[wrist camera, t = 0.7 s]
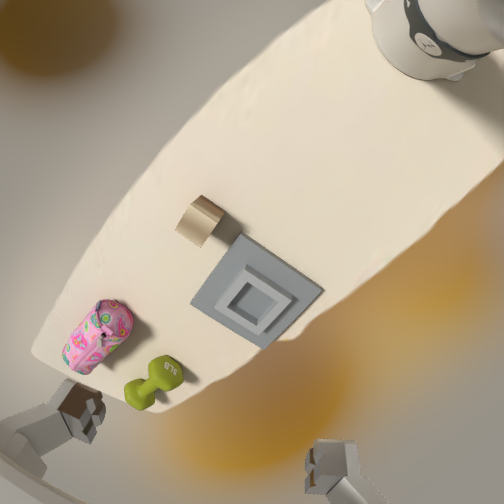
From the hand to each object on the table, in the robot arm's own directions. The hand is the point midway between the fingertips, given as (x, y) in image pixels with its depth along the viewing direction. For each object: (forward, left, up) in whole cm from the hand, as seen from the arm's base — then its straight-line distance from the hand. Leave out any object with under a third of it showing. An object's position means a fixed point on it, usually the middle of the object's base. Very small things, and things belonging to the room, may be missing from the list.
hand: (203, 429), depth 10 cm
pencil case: (+44, -12, -39) cm, 60 cm away
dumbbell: (+47, +3, -39) cm, 61 cm away
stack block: (+8, -6, -39) cm, 40 cm away
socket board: (+15, +8, -39) cm, 42 cm away
